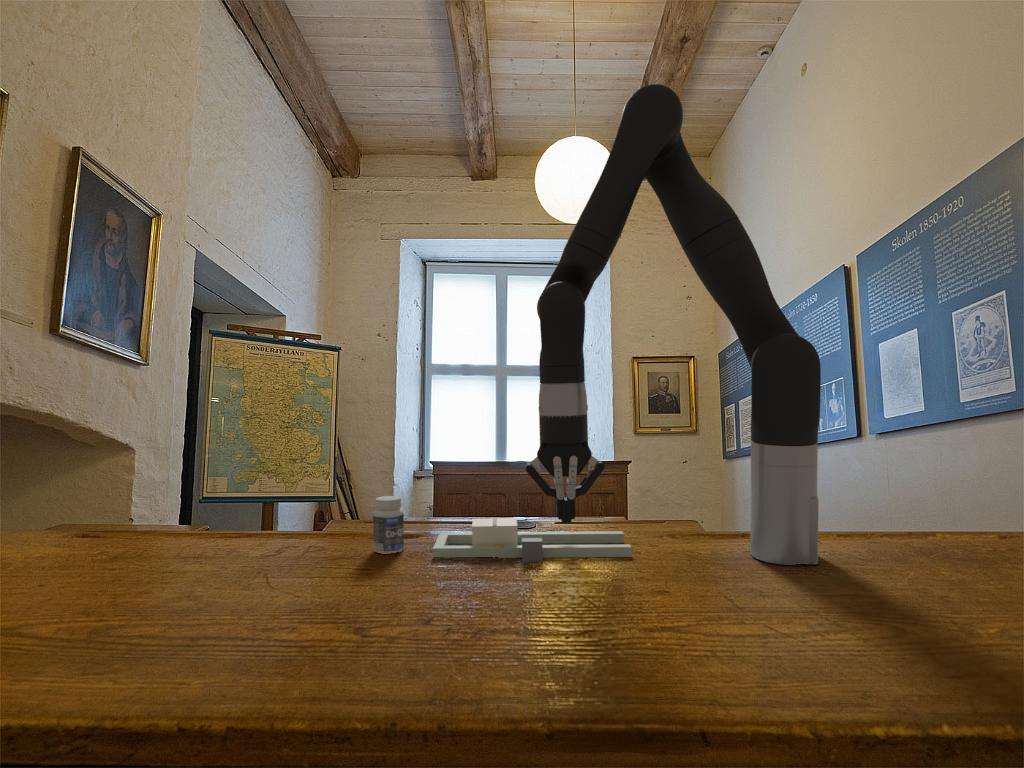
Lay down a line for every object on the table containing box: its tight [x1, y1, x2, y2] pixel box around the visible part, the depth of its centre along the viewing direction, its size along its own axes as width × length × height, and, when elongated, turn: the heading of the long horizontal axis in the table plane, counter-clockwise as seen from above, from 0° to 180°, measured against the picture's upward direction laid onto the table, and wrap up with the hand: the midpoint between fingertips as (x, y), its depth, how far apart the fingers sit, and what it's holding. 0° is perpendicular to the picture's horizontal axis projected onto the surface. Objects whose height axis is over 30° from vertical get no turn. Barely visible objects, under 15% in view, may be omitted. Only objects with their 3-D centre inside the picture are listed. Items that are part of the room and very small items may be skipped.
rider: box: [471, 517, 519, 545], centre depth 107 cm, size 7×5×5 cm
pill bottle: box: [372, 495, 405, 552], centre depth 107 cm, size 5×5×8 cm
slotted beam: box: [432, 530, 633, 563], centre depth 106 cm, size 30×11×3 cm, turn 89°
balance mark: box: [495, 544, 503, 548], centre depth 107 cm, size 1×9×1 cm, turn 179°
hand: (566, 521), depth 107 cm, fingers closed
